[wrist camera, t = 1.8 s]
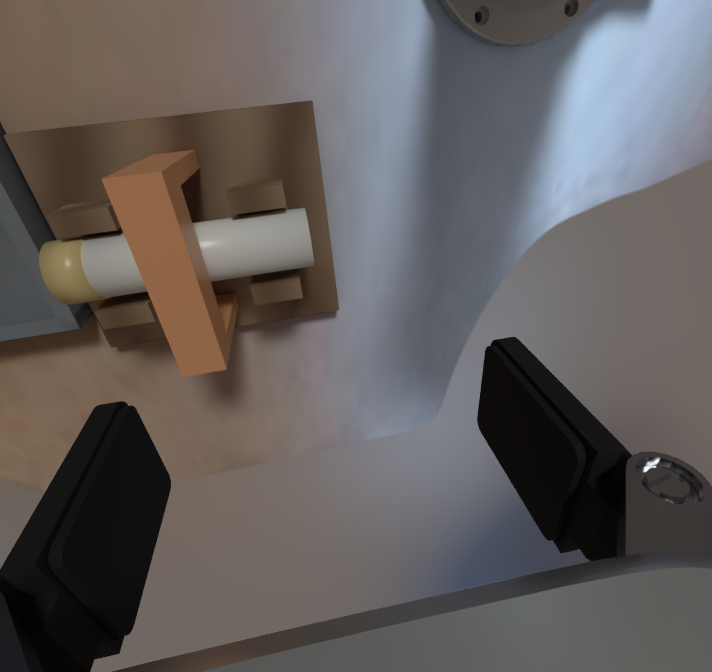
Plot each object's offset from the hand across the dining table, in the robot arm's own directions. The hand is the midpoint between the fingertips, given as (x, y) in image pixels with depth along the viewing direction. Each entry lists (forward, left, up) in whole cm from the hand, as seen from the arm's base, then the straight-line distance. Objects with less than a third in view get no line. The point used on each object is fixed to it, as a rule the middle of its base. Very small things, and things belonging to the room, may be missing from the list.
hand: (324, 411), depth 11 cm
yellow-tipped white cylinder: (+6, 0, -17) cm, 18 cm away
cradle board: (+6, 0, -20) cm, 21 cm away
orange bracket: (+6, 0, -19) cm, 20 cm away
